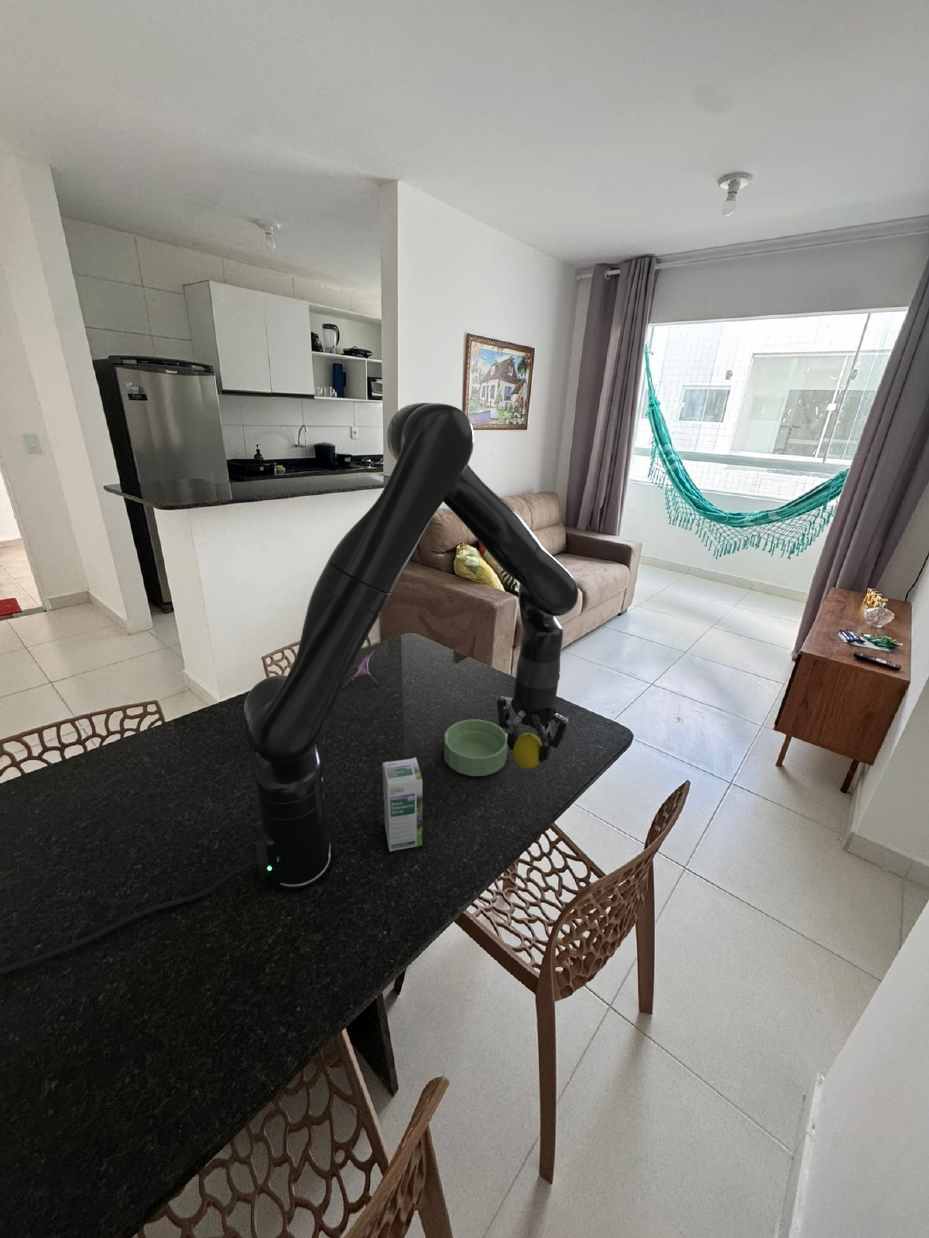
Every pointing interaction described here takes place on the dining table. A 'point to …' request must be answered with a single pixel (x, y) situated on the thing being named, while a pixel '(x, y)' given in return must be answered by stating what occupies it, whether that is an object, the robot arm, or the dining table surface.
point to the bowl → (475, 747)
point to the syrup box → (402, 803)
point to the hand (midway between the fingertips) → (527, 753)
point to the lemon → (527, 750)
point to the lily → (363, 669)
